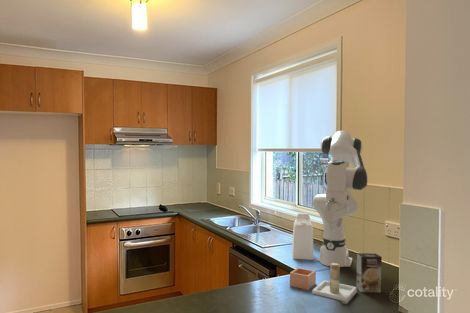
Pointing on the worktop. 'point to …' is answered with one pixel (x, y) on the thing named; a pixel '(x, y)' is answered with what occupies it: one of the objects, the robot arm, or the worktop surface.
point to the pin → (334, 278)
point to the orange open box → (303, 278)
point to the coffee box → (368, 272)
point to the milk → (302, 237)
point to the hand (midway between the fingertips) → (335, 228)
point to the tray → (343, 295)
